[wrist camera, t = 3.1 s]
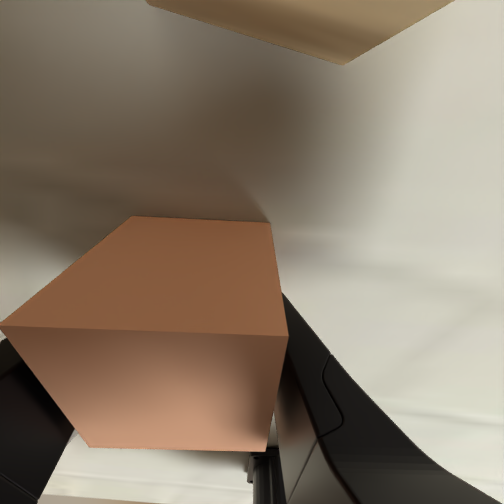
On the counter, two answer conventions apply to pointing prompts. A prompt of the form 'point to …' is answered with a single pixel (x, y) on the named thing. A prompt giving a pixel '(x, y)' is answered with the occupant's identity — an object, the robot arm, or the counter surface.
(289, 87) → the counter surface
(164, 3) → the maple block
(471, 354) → the counter surface
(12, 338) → the terracotta block
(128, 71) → the counter surface
